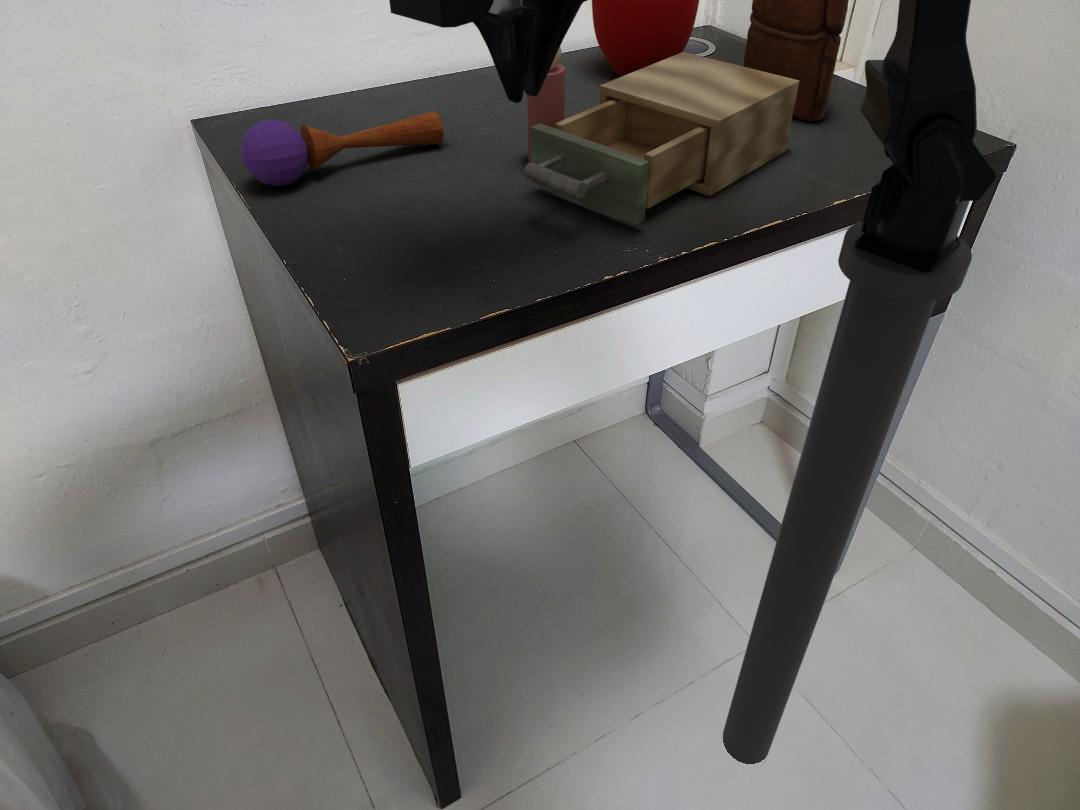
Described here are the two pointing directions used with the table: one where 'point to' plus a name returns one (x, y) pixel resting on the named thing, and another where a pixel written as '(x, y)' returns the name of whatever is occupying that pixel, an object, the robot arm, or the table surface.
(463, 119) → the table surface
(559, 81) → the doll
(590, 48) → the table surface
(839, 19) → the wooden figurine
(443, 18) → the robot arm
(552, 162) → the drawer
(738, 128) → the cabinet
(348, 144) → the kendama
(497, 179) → the table surface
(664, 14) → the ceramic cup
